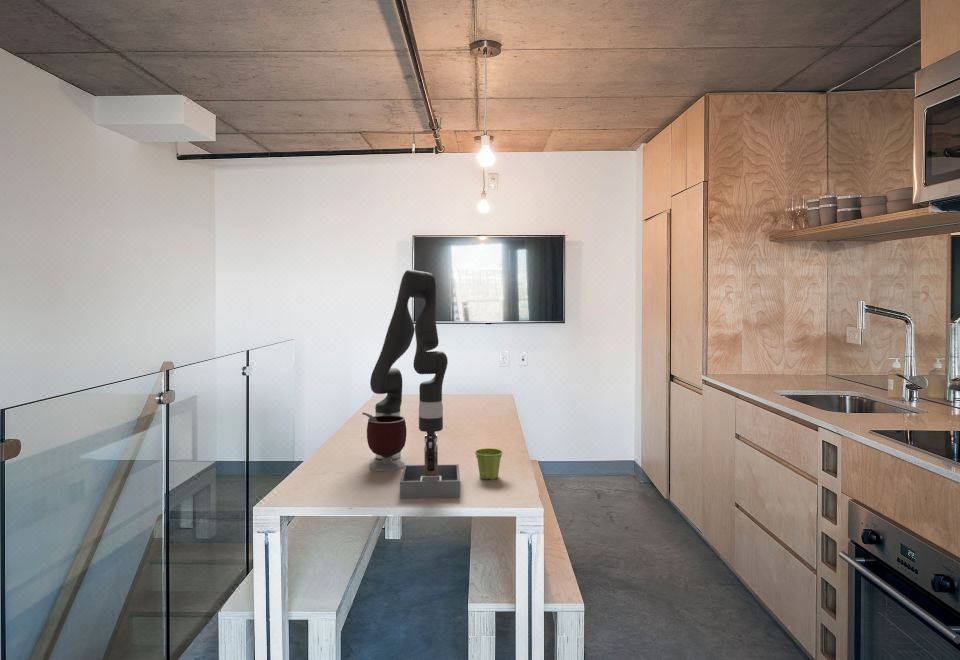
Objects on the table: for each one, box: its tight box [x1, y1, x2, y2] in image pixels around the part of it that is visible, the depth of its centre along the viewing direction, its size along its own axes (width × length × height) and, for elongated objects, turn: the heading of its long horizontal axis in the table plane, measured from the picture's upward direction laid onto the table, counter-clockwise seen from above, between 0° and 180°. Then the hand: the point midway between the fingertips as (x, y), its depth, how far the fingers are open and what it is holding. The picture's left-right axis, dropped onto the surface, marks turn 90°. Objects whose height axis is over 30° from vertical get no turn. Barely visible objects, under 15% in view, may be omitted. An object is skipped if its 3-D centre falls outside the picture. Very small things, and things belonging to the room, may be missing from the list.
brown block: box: [423, 444, 439, 476], centre depth 194 cm, size 4×4×9 cm
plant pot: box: [474, 447, 504, 480], centre depth 207 cm, size 9×9×9 cm
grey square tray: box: [399, 463, 461, 499], centre depth 195 cm, size 18×18×5 cm
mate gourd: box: [362, 412, 407, 472], centre depth 218 cm, size 16×14×20 cm
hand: (431, 468), depth 195 cm, fingers closed on brown block, 4 cm apart
